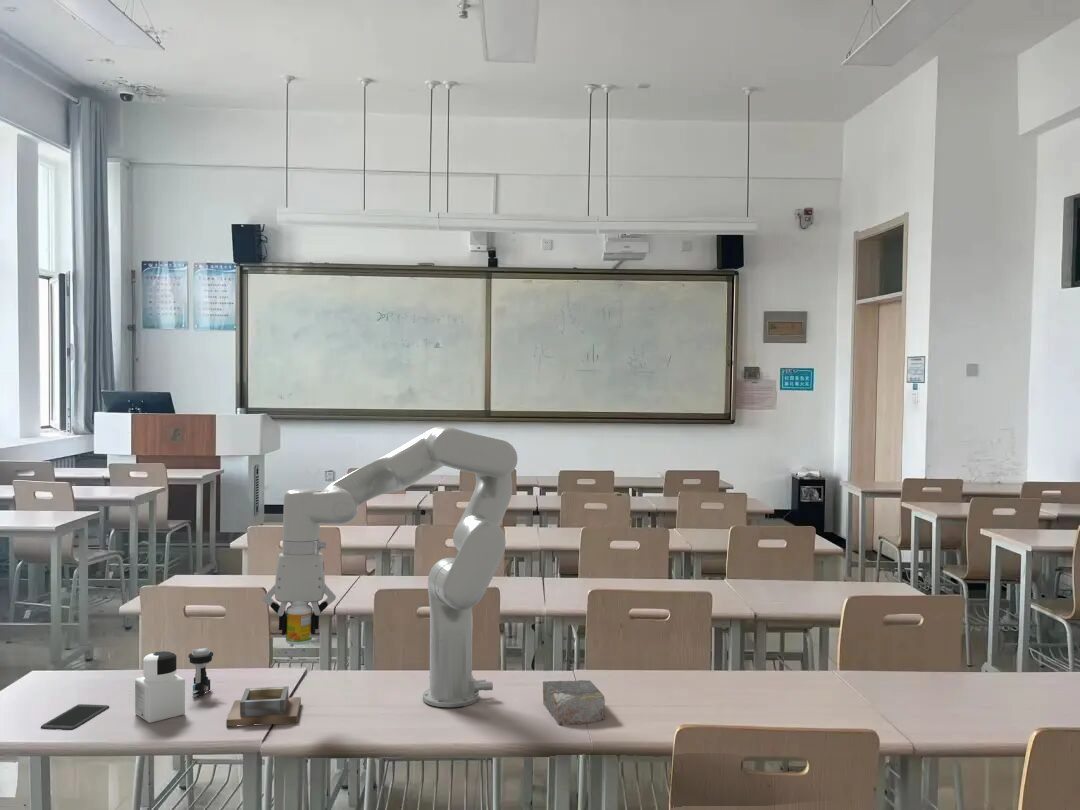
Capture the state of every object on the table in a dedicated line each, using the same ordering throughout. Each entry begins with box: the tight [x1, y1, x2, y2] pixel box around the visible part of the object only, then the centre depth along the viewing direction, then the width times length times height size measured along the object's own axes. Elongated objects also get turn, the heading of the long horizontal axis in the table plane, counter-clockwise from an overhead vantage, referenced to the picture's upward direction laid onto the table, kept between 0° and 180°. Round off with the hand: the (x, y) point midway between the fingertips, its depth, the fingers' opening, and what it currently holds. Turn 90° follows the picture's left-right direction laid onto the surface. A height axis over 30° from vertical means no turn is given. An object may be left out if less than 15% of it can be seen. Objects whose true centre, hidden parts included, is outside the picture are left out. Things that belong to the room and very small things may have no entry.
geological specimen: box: [542, 679, 606, 726], centre depth 202 cm, size 11×6×15 cm
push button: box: [187, 647, 214, 698], centre depth 211 cm, size 7×5×10 cm
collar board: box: [225, 686, 302, 726], centre depth 198 cm, size 14×12×4 cm
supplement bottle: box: [285, 601, 314, 646], centre depth 197 cm, size 5×5×10 cm
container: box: [134, 650, 186, 724], centre depth 198 cm, size 8×8×13 cm
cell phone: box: [40, 703, 110, 731], centre depth 196 cm, size 7×14×1 cm, turn 175°
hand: (298, 632), depth 197 cm, fingers closed on supplement bottle, 5 cm apart
